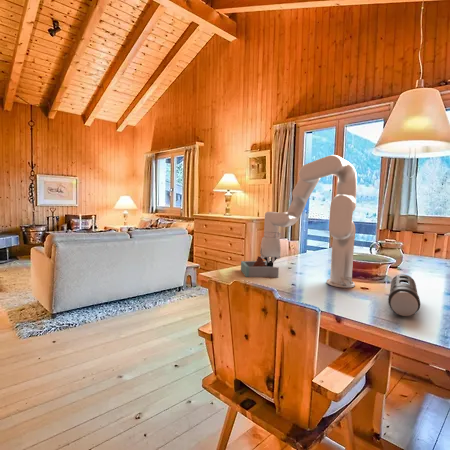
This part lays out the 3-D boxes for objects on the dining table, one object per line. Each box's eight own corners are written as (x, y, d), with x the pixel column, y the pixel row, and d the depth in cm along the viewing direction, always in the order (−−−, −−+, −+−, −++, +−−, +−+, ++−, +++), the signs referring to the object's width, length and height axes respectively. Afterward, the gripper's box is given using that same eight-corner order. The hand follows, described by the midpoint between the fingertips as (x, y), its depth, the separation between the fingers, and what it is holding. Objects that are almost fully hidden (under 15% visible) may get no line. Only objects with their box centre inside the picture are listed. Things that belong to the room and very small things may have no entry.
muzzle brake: (415, 300, 128) (417, 275, 127) (419, 323, 103) (421, 292, 103) (389, 296, 132) (391, 272, 132) (386, 317, 108) (389, 288, 107)
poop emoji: (248, 274, 163) (248, 257, 162) (252, 271, 171) (252, 254, 170) (267, 276, 160) (268, 258, 159) (270, 273, 168) (270, 255, 167)
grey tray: (279, 277, 158) (279, 267, 158) (246, 277, 156) (246, 267, 156) (269, 269, 176) (269, 260, 176) (240, 269, 174) (240, 260, 174)
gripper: (282, 234, 170) (281, 267, 171) (255, 234, 168) (254, 267, 169) (287, 236, 162) (285, 271, 164) (258, 235, 160) (257, 271, 162)
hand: (269, 269), depth 167 cm, fingers closed
